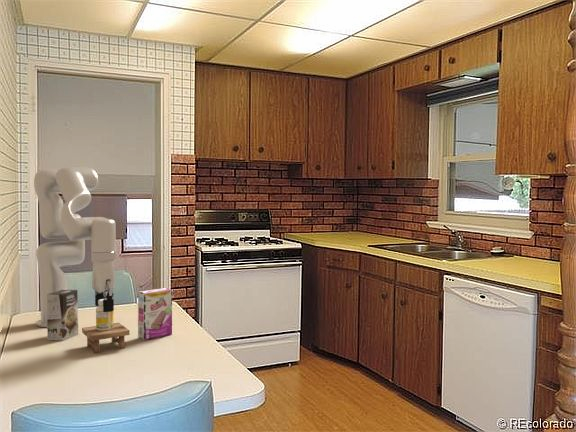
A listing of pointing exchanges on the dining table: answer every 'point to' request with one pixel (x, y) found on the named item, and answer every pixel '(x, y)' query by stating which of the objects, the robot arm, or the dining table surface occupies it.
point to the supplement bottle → (103, 318)
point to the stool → (105, 336)
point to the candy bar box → (154, 313)
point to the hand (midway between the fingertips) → (104, 308)
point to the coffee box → (62, 314)
